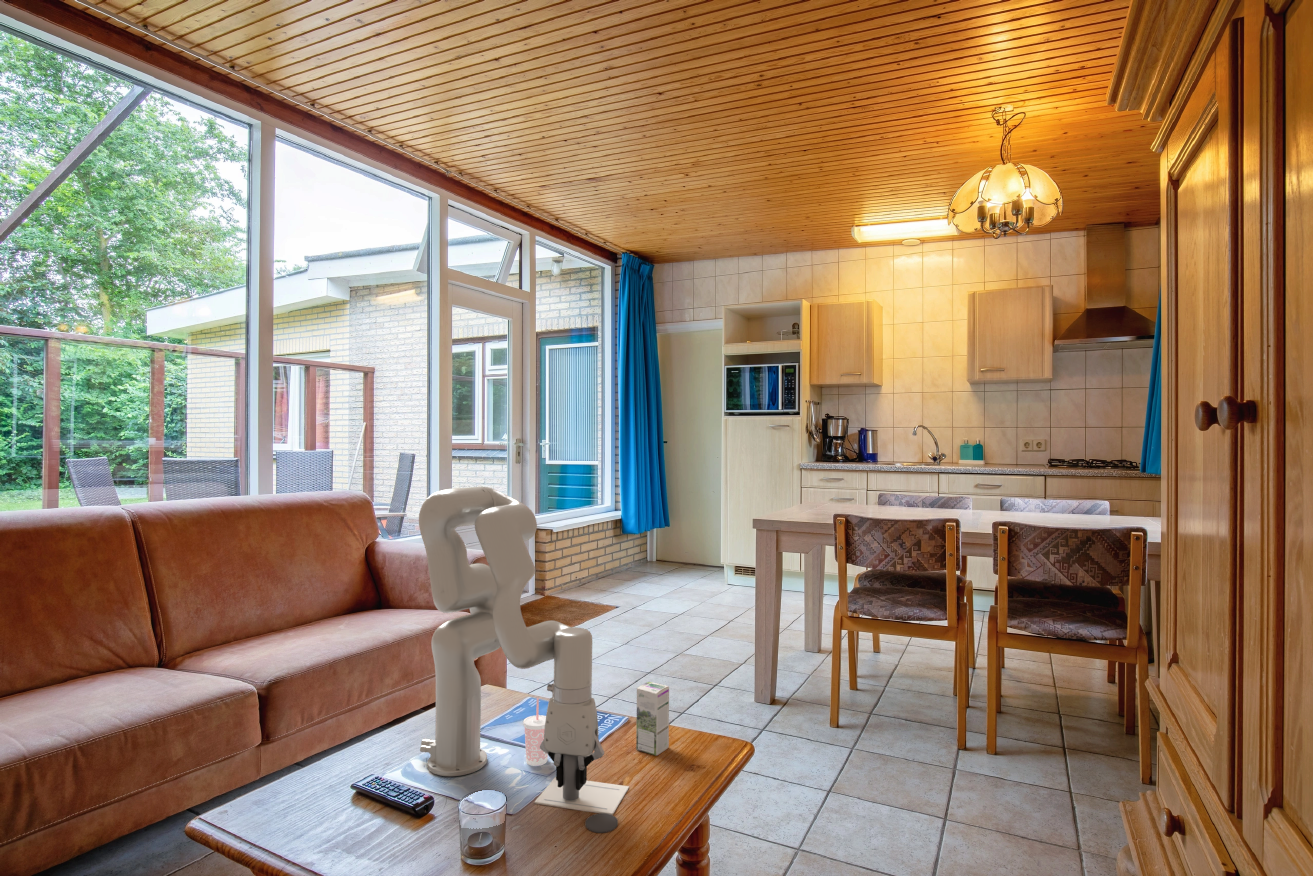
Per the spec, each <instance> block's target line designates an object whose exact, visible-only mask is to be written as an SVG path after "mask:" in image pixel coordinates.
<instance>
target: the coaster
mask: <svg viewBox="0 0 1313 876" xmlns="http://www.w3.org/2000/svg"><path fill="white" fill-rule="evenodd" d="M584 824H585V828H586V829H587V830H588V831H590V832H592V833H596V834H605V833H609V832H610V833H611V832H612V831H614V830H615V829H616V828H617V827H618V824H619V820H618V818H617V817H616V816H614V814H613V815H610V814H605V813H595V814H592V815H590V816H588V817H587V818H586V819H585V823H584Z"/></svg>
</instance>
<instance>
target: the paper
mask: <svg viewBox="0 0 1313 876" xmlns="http://www.w3.org/2000/svg"><path fill="white" fill-rule="evenodd" d="M629 789H630V786H629V785H621V784H616V783H615V784H614V783H606V782H600V781H593V780H587V781H586V783H585V784H584V785H583V786H582V788H581V789H580V790H579V798H577V799H576V800H565V799H564V798H563V786H562V787H561V788H560V787H558V781H557V780H556V776H555V777H554V778H553V779H552V780H551V781H550V782H549V784H548V785H547V786H546V787H545V789H544V790H543V791H542V792H541V793H540V794H539V796H538V797H537V798H536V799H535V801H534V804H536V805H543V806H549V807H556V808H557V807H558V808H563V809H568V810H569V809H570V810H575V811H582V812H587V813H589V812H590V813H595V814H600V813H605V814H610V815H613V816H614V814H615V812H616V810H617V808H618V807H619V806H620V803H621V802H622V800H623V799H624V797H625V795H626V794H627V792H628V790H629Z"/></svg>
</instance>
